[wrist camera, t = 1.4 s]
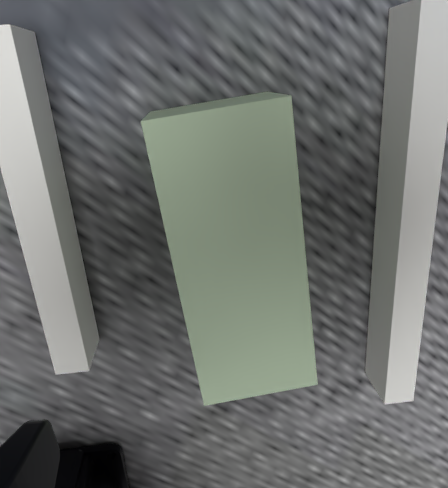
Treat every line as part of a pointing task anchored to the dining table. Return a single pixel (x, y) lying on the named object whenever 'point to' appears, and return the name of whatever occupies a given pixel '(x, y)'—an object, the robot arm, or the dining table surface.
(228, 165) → the plug block
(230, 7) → the dining table surface
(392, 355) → the rail duct
